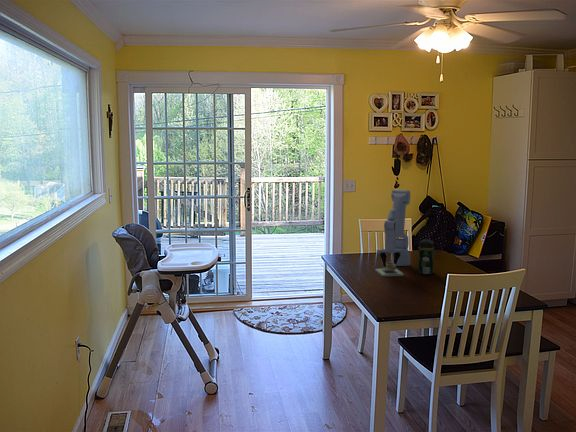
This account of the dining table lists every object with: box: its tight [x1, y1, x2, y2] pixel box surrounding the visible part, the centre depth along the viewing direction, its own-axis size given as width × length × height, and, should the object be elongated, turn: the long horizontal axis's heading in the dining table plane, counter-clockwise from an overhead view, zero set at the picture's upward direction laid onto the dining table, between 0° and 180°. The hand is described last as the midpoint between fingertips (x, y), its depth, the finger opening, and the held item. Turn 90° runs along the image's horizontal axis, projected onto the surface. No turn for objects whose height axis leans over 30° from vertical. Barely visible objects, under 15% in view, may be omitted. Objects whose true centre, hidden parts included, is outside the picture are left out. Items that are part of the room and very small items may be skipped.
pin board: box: [375, 268, 405, 277], centre depth 281 cm, size 12×12×5 cm
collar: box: [382, 261, 397, 270], centre depth 281 cm, size 5×5×3 cm
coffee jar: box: [417, 238, 435, 276], centre depth 281 cm, size 10×8×19 cm
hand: (389, 266), depth 281 cm, fingers closed on collar, 5 cm apart
